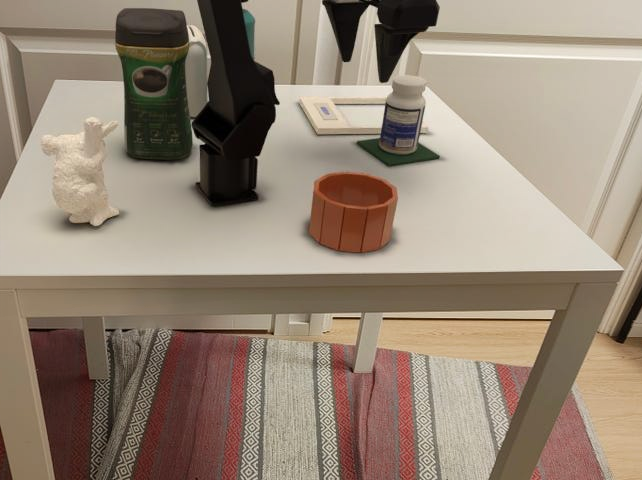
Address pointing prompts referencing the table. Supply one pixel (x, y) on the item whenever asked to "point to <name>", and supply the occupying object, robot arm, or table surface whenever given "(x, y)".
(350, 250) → the pot
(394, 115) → the pill bottle
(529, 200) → the table surface
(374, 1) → the robot arm
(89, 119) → the white animal figurine
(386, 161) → the mat
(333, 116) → the photo frame
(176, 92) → the coffee jar
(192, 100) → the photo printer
